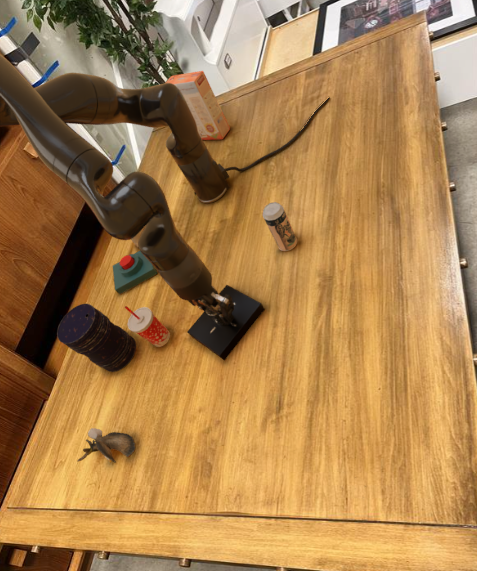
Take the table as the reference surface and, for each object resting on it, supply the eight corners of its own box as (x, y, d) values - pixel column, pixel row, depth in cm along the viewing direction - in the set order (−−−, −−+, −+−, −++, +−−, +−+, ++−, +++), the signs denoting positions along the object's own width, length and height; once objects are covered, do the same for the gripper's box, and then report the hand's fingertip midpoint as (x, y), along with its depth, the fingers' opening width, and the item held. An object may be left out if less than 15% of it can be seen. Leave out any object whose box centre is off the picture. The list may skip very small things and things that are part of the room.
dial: (213, 326, 83) (203, 315, 80) (215, 311, 86) (206, 299, 82) (230, 324, 82) (221, 313, 78) (232, 308, 84) (223, 296, 81)
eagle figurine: (87, 477, 76) (119, 474, 72) (68, 449, 75) (99, 444, 70) (111, 447, 83) (142, 443, 78) (94, 421, 81) (124, 415, 77)
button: (134, 256, 107) (130, 252, 106) (135, 265, 105) (131, 261, 103) (122, 263, 107) (119, 259, 106) (124, 271, 105) (120, 267, 104)
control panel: (230, 290, 91) (226, 284, 89) (265, 309, 84) (261, 302, 82) (192, 337, 87) (186, 331, 86) (224, 360, 81) (219, 355, 79)
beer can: (292, 253, 90) (276, 218, 81) (275, 250, 92) (257, 216, 84) (301, 237, 92) (286, 201, 83) (283, 235, 94) (267, 199, 85)
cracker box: (231, 128, 133) (203, 69, 117) (222, 140, 130) (193, 81, 115) (201, 129, 141) (171, 74, 125) (192, 140, 138) (161, 85, 123)
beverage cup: (177, 337, 89) (142, 305, 79) (156, 355, 89) (118, 325, 78) (166, 321, 93) (132, 289, 83) (146, 338, 93) (109, 308, 82)
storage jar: (105, 380, 90) (58, 352, 79) (98, 349, 97) (54, 320, 86) (140, 356, 90) (98, 326, 79) (131, 327, 97) (92, 295, 86)
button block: (152, 250, 111) (144, 241, 108) (157, 273, 105) (149, 264, 102) (117, 270, 113) (108, 261, 110) (119, 294, 106) (110, 286, 103)
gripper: (223, 262, 68) (257, 312, 81) (168, 247, 76) (207, 295, 89) (200, 297, 66) (238, 343, 78) (146, 277, 74) (189, 322, 86)
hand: (221, 317), depth 83 cm, fingers closed on dial, 4 cm apart
